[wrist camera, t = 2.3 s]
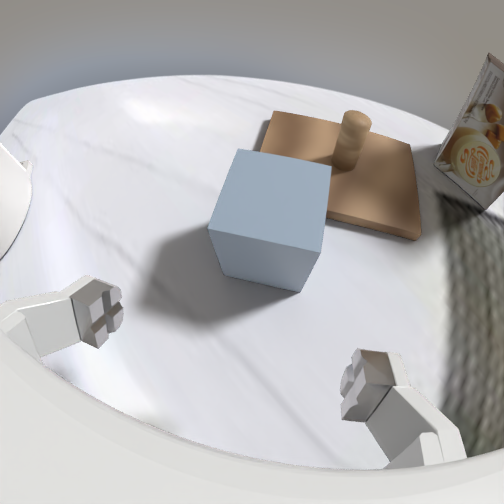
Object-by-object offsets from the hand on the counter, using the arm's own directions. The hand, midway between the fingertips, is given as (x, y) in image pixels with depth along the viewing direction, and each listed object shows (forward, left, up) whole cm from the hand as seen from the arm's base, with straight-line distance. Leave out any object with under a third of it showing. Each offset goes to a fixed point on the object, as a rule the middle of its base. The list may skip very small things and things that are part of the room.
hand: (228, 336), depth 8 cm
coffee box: (+22, +24, -12) cm, 35 cm away
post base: (+5, +18, -11) cm, 22 cm away
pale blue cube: (0, +8, -11) cm, 14 cm away
